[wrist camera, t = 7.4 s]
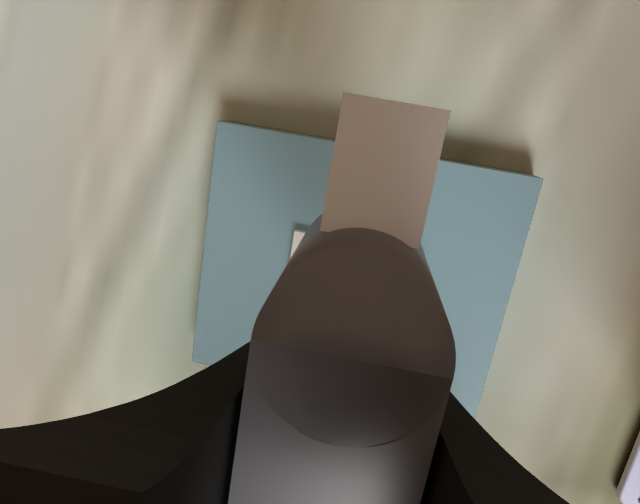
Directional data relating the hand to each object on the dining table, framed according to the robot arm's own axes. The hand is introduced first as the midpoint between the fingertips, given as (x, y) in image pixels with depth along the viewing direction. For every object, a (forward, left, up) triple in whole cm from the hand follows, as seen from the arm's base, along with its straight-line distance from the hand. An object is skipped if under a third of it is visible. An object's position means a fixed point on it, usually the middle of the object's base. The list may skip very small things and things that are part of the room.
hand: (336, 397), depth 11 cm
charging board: (0, 0, -10) cm, 10 cm away
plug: (0, -1, -2) cm, 2 cm away
